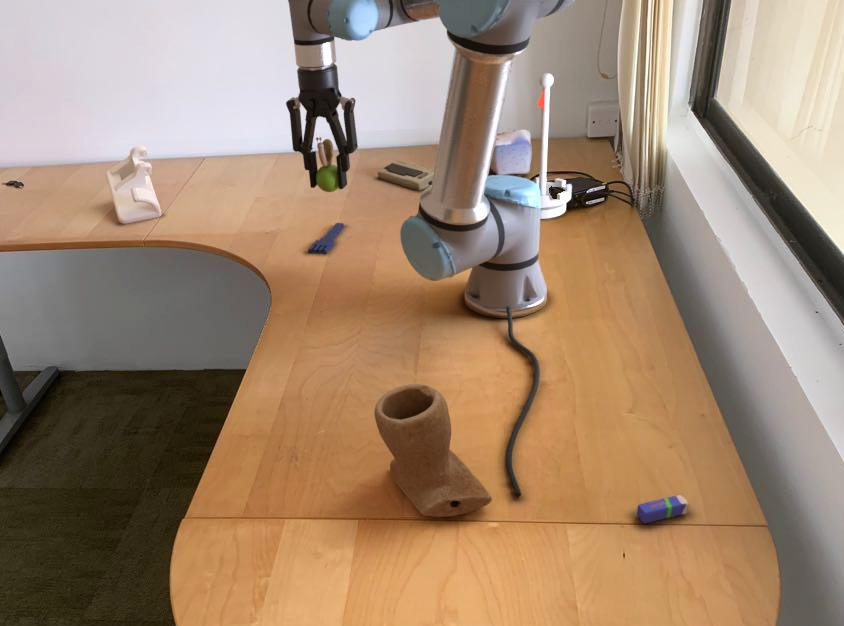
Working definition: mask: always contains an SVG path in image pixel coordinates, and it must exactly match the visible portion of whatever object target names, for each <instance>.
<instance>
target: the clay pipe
mask: <svg viewBox="0 0 844 626" xmlns="http://www.w3.org/2000/svg"><path fill="white" fill-rule="evenodd" d="M447 403H448V402H447V400H446V398H445V397H444V395H443V394H442V393H441V392H440V391H439V390H438V389H436V388H433V387H432V386H430V385H427V384H422V383H410V384H405V385H404V384H403V385H401V386H398V387H395V388H393V389H391V390H389V391H387V392H386V393H384V394H383V395H381V396H380V398H379V399H378V401H377V402H376V404H375V407H374V412H373V413H374V414H373V415H374V420H375V423H376V424H375V425H376V428H377V430H378V433H379V435H380V437H381V440H382V441H383V442H384V444H385V445H386V447H387V449H388V450H389V452H390V453H391V455H392V456H393V459H392V460H391V461H390V464H389V469H390V472H391V476H392V478H393V480H394V482H395V484H396V485H397V487H399V488H400V490H401V491H402V492H403V494H404V495H405V496H406V497H407V499H408V500H409V501H410V502H411V504H412V505H413V506H414V507H415V508H416V509H417V511H418V512H419V513H420V514H421V515H423V516H426V517H435V518H437V517H438V518H443V517H445V518H450V517H456V516H459V515H466V514H470V513H472V512H475V511H477V510H480V509H482V508H484V507H486V506H487V505H489V504H491V502H492V501H493V499H492V495H491V494H490V493H489V491H488V489H486V487H485V486H484V485H483V484H482V482H481V481H480V480H479V479H478V477H476V476H475V474H473V472H472V470H470V468H469V467H468V466H467V465H466V464H465V463H464V462H463V460H462V459H461V458H459V457H458V455H457V454H456V453H454V452H453V450H452V449H450V447H451V440H452V422H451V417H450V413H449V407H448V404H447Z"/></svg>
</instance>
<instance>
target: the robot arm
mask: <svg viewBox="0 0 844 626" xmlns="http://www.w3.org/2000/svg"><path fill="white" fill-rule="evenodd" d="M575 1H576V0H287V2H288V7H289V14H290V22H291V24H290V25H291V31H292V37H293V46H294V47H293V48H294V57H295V65H296V66H297V67H298V68H297V70H296V73H297V83H298V88H299V93H298V96H297V97H294V96H293V97H291V98H289V99H288V100H286V102H285V105H286V108H287V110H288V112H289V120H290V131H291V145H292V150H293V151H294V152H295V153H296V152H298V153H300V154H302V158H303V159H302V160H303V167H304V170H305V171H308V176H309V177H308V178H309V183H310V188H311V189H315V188H316V187H317V186H318V185H317V182H316V174H317V171H318V170H319V168H318V160H317V152H316V151H313V149H314V147H313V144H314V137H315V132H316V131H315V130H316V124H317V119H318V118H319V117H321V118H324V119H325V120H326V123H327V124H328V125H329V129H330V131H331V134H332V137H333V139H334V143H335V145H336V148H337V151H338V154H337V156H335V160H336V166H337V171H338V182H339V188H338V189H339V190H343V189H345V188H346V186H347V185H348V178H347V177H348V176H347V172H348V171H349V170H350V168H351V162H350V161H351V160H350V154H353V153H354V152H355V151H356V150H357V149H358V147H359V146H358V144H359V143H358V136H357V129H356V117H355V107H356V99H355V98H354V97H350V98H348V97H345V96H343V95H342V92H341V91H340V88H339V87H340V86H339V73H338V66H337V65H336V64H335V63H336V62H337V54H336V53H337V52H336V42H335V40H336V39H335V38H338V39H341V40H344V41H349V42H350V41H351V42H352V41H363V40H365V39H368V38H369V36H370V35H371V34H372V33H374V32H376V31H381V30H385V29H388V28H393V27H398V26H401V25H406V24H412V23H418V22H421V21H426V20H433V19H438V18H439V19H440V21H441V24H442V25H443V27H444V28H445V29H446V37H447V39H448V40H449V42H450V43H451V45H452V46H453V47H454V51H453V56H452V61H451V62H452V63H451V68H450V74H449V79H448V80H449V81H448V87H447V92H446V97H445V104H444V110H443V116H442V122H441V127H440V133H439V138H438V146H437V152H436V157H435V164H434V169H433V170H434V175H433V181H432V186H429V187H427V188H425V189H423V191H422V192H421V194H420V198H419V203H418V210H417V213H416V215H410V216H409V217H408V218H407V219H405V220H404V221H403V222H402V223H401V227H400V232H399V233H400V234H399V236H400V237H399V238H400V244H401V247H402V250H403V253H404V255H405V256H406V259H407V261H408V263H409V264H410V266H411V267H412V268H413V270H414V271H415V272H416V273H417V274H418V275H419V276H421V277H422V278H423V279H426V280H427V281H431V282H437V281H438V282H439V281H441V280H445V279H448V278H452V277H453V278H454V276H456V275H458V274H461V273H463V272H465V271H468V270H470V269H471V270H470V274H469V276H468V279H467V282H466V284H465V288H464V303H465V305H466V306H467V307H468V309H470V310H471V311H473V312H475V314H476V313H477V314H479V315H482V316H485V317H490V318H495V319H496V318H497V319H498V318H499V319H507V334H508V338H509V340H510V341H511V343H512V344H513V345H514V347H516V348H517V349H519V350H520V351H522V352H523V353H524V354H526V355H527V356H528V357H529V358H530V360H531V362H532V365H533V368H534V369H533V370H534V374H533V375H534V376H533V383H532V387H531V391H530V393H529V395H528V397H527V400H526V402H525V404H524V406H523V408H522V410H521V413H520V414H519V416H518V418H517V420H516V421H515V424H514V426H513V429H512V431H511V434H510V437H509V440H508V443H507V447H506V453H505V466H506V472H507V476H508V479H509V480H510V485H511V486H512V490H513V493H514V496H515V497H516V498H519V497H521V496H522V493H521V489H520V486H519V484H518V480H517V479H516V476H515V473H514V468H513V452H514V446H515V444H516V439H517V436H518V434H519V430H520V428H521V426H522V424H523V422H524V421H525V418H526V416H527V415H528V412H529V410H530V408H531V405H532V403H533V401H534V400H535V396H536V395H537V391H538V388H539V383H540V374H541V373H540V371H541V369H540V364H539V361H538V359H537V357H536V355H535V354H534V353H533V352H532V351H531V350H530V349H528V348H527V347H526V346H524V345H523V344H522V343H520V342H519V341H518V340H517V338H516V337H515V336H514V332H513V330H514V326H513V325H514V322H513V318H520V317H523V316H524V317H525V316H528V315H531V314H534V313H536V312H538V311H540V310H541V309H542V308H544V307H545V305H546V303H547V301H548V287H547V284H546V280H545V278H544V275H543V272H542V267H541V265H540V261H539V257H540V256H539V253H540V236H541V235H540V234H541V219H540V216H541V207H542V205H541V202H540V189H539V187H538V185H537V184H536V183H534V182H535V181H533V180H531V179H528V178H526V177H521V176H515V175H509V174H508V175H497V174H494V175H493V174H492V175H489V173H490V170H491V168H490V164H491V160H492V155H493V151H494V146H495V142H496V137H497V134H499V133H498V132H499V128H500V123H501V119H502V116H503V115H502V114H503V110H504V105H505V101H506V97H507V93H508V88H509V83H510V79H511V74H512V70H513V65H514V61H515V57H516V56H519V55H520V54H522V53H523V52H525V51H526V50H527V49H528V47H529V43H530V39H531V36H532V31H533V27H534V23H535V20H539V19H541V18H546V17H550V16H552V15H555V14H558V13H560V12H561V11H563V10H565V9H567V8H568V7H570V5H571V4H573V3H574V2H575ZM301 105H302V108H303V109H304V110H305V111H306V113H305V119H304V120H305V125H304V133H303V128H302V127H303V126H302V116H301ZM340 105H341V109H342V110H343V121H344V122H343V123H344V130H345V132H344V130H343V127H342V124H341V122H340V119H339V112H338V106H340Z"/></svg>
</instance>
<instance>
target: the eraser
mask: <svg viewBox="0 0 844 626" xmlns="http://www.w3.org/2000/svg"><path fill="white" fill-rule="evenodd" d="M688 509H689V502H688V500H687V499H686V498H685V496H683V494H678V495H673V496H669V497H664V498H660V499H656V500H652V501H647V502H643V503H639V504H638V505H637V511H636V514H637V517H638V519H639V520H640V521H641V523H643V524H648V523H653V522H657V521H660V520H665V519H670V518H673V517H678V516H681V515H685V514H687V513H688Z"/></svg>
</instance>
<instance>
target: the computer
mask: <svg viewBox="0 0 844 626" xmlns="http://www.w3.org/2000/svg"><path fill="white" fill-rule="evenodd" d="M433 175H434V169H432V168H428V167H425V166H422V165H416V164H414V163H411V162H406V161H402V160H395V161H393V162H391V163H389V164H388V165H385V166H384V167H382V168H380V169H379V170H378V171H377V177H378V179H382V180H383V181H386V182H390V183H393V184H397V185H400V186H401V187H402V186H403V187H405V188H409V189H411V190H412V189H413V190H417V191H421V190H425V189H427V188H428V187H430V186H432V181H433Z"/></svg>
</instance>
